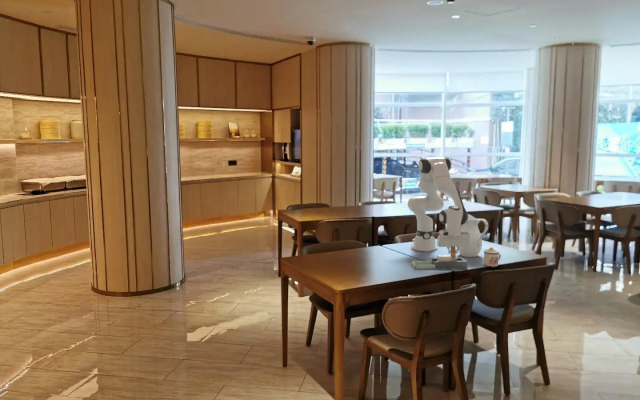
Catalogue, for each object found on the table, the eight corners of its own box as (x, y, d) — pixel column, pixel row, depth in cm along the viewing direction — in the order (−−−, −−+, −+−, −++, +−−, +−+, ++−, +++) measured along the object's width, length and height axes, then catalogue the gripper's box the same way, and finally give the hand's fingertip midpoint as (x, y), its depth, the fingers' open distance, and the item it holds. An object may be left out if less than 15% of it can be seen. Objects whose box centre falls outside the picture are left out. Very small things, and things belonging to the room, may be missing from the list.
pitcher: (450, 254, 352) (452, 214, 348) (469, 251, 360) (470, 213, 356) (475, 261, 331) (477, 220, 327) (494, 258, 339) (496, 218, 335)
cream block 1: (437, 261, 322) (437, 255, 321) (443, 261, 322) (443, 255, 321) (439, 262, 318) (439, 256, 317) (445, 262, 318) (445, 256, 317)
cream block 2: (443, 261, 322) (443, 255, 321) (449, 261, 322) (450, 255, 321) (445, 262, 318) (445, 256, 317) (451, 262, 318) (451, 256, 317)
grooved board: (431, 264, 325) (431, 257, 325) (462, 264, 326) (462, 257, 325) (435, 268, 315) (435, 261, 314) (467, 268, 315) (467, 261, 315)
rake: (450, 260, 322) (449, 246, 321) (454, 260, 322) (454, 245, 321) (452, 262, 318) (451, 247, 316) (456, 262, 318) (456, 247, 316)
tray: (411, 264, 325) (411, 261, 324) (431, 264, 325) (431, 260, 325) (414, 269, 315) (414, 265, 314) (435, 268, 315) (435, 264, 315)
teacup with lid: (490, 267, 317) (490, 249, 316) (480, 264, 326) (481, 246, 324) (505, 265, 322) (505, 247, 320) (495, 262, 330) (495, 244, 329)
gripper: (468, 230, 321) (467, 252, 323) (436, 231, 320) (435, 252, 322) (471, 232, 314) (470, 254, 316) (439, 233, 314) (438, 254, 316)
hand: (453, 253), depth 319 cm, fingers closed on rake, 2 cm apart
